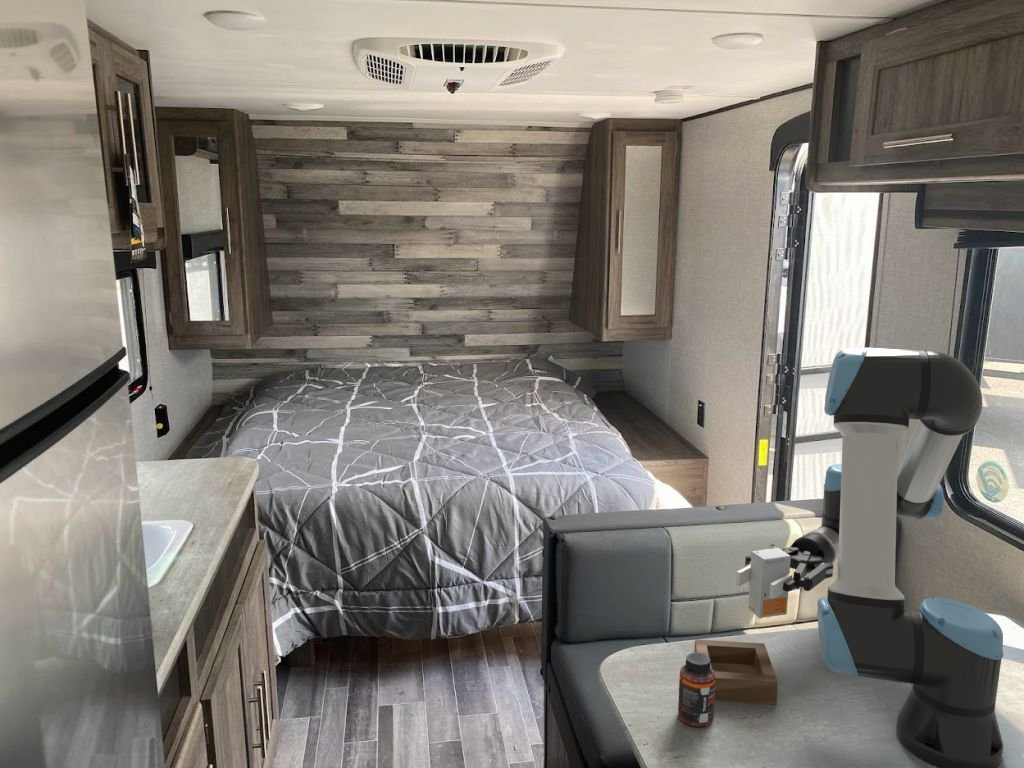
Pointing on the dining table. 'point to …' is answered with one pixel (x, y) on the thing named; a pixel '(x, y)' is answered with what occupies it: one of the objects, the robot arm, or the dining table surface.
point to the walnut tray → (740, 671)
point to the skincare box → (767, 582)
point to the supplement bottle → (696, 691)
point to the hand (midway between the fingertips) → (754, 585)
